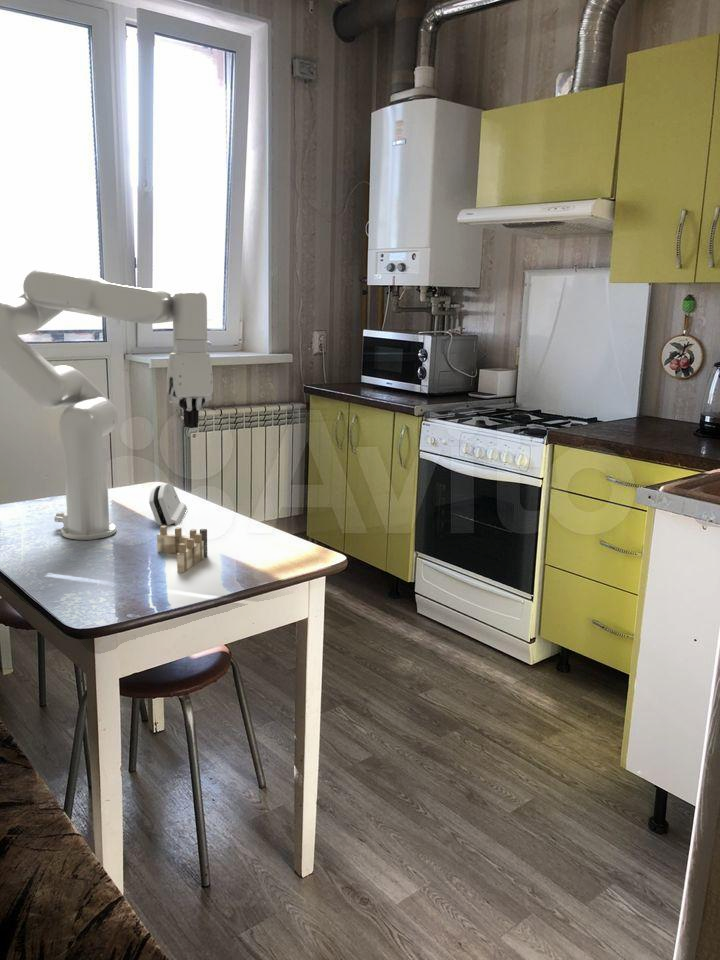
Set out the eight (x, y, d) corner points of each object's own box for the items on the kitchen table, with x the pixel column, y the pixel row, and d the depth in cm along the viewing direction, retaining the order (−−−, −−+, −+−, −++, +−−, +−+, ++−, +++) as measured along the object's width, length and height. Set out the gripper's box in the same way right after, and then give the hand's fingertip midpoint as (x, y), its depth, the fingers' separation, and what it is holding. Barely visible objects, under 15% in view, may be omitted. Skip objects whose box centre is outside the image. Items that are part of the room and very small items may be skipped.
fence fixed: (157, 552, 178) (156, 525, 176) (160, 550, 179) (159, 523, 178) (205, 559, 175) (205, 531, 174) (208, 556, 177) (208, 529, 175)
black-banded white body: (178, 528, 198) (163, 491, 196) (160, 534, 198) (145, 497, 196) (188, 509, 214) (174, 475, 212) (171, 515, 214) (157, 481, 212)
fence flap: (198, 557, 175) (198, 532, 174) (203, 558, 175) (203, 533, 173) (177, 572, 166) (176, 545, 164) (182, 572, 165) (182, 546, 164)
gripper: (209, 345, 188) (209, 422, 192) (152, 346, 177) (154, 427, 182) (227, 347, 182) (227, 426, 187) (169, 349, 172) (171, 432, 176)
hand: (191, 426), depth 184 cm, fingers closed
